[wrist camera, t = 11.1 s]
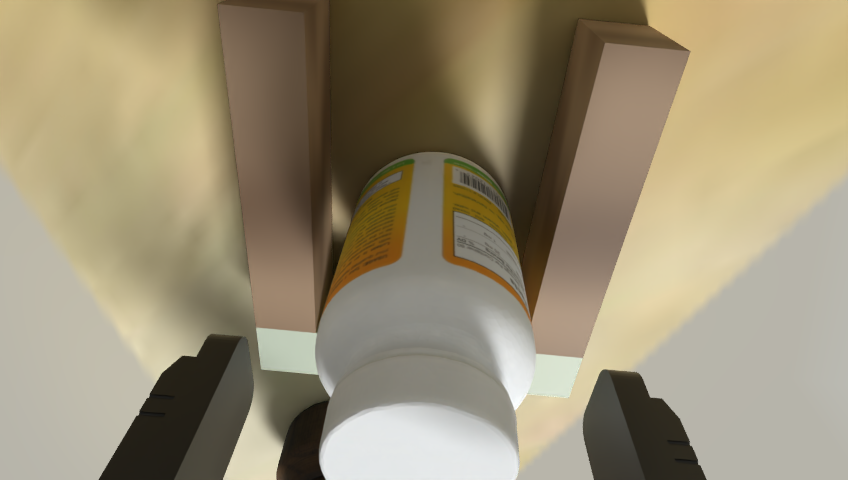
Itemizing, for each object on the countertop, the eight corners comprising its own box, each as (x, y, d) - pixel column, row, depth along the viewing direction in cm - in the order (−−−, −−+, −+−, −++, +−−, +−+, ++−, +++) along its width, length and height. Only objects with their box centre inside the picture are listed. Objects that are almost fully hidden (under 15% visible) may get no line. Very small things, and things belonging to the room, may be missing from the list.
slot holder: (257, -14, 15) (217, 4, 12) (649, 26, 15) (690, 51, 12) (283, 313, 21) (261, 369, 19) (554, 339, 21) (568, 398, 19)
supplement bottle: (363, 279, 20) (302, 539, 12) (349, 147, 17) (255, 371, 9) (505, 280, 20) (542, 547, 12) (515, 147, 17) (575, 377, 9)
